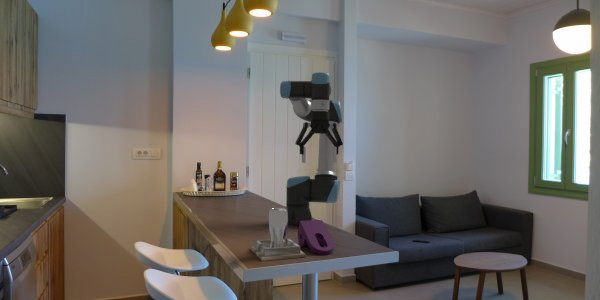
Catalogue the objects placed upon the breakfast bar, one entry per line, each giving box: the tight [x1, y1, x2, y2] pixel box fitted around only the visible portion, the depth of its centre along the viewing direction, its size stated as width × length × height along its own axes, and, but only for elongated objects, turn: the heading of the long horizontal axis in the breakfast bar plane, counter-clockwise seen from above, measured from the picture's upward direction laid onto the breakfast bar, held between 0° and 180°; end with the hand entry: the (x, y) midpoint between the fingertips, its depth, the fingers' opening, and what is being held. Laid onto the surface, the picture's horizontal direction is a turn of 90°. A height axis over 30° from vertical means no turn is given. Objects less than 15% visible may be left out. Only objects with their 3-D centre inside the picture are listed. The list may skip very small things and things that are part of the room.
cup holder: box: [250, 237, 307, 262], centre depth 148 cm, size 16×16×4 cm
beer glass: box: [268, 207, 289, 248], centre depth 148 cm, size 7×7×15 cm
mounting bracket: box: [297, 219, 335, 256], centre depth 156 cm, size 10×8×18 cm
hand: (319, 162), depth 168 cm, fingers open, 13 cm apart
